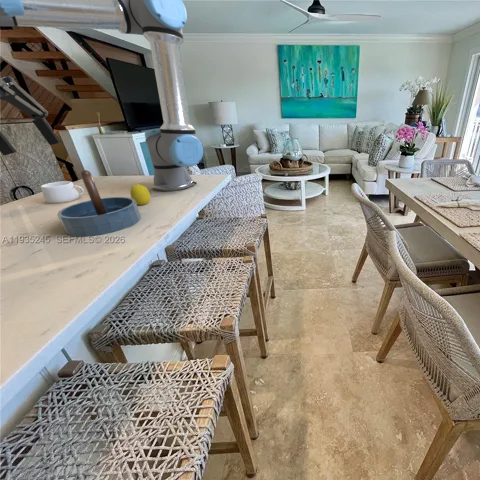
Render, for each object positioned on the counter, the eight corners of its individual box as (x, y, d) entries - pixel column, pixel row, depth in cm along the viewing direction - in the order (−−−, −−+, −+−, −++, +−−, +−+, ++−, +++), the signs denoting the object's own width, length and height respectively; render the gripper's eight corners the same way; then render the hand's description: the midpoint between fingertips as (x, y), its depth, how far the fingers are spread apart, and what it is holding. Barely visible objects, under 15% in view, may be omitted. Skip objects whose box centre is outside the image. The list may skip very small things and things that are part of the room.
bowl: (138, 210, 89) (132, 193, 86) (145, 228, 76) (138, 208, 73) (69, 223, 79) (60, 204, 76) (64, 245, 67) (53, 223, 64)
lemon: (150, 202, 96) (143, 180, 93) (155, 206, 93) (148, 183, 89) (133, 206, 93) (125, 183, 89) (137, 210, 89) (129, 186, 86)
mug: (40, 205, 94) (32, 188, 91) (54, 197, 102) (46, 182, 99) (81, 201, 97) (74, 185, 94) (91, 194, 105) (85, 179, 103)
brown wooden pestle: (117, 217, 81) (98, 166, 74) (118, 223, 77) (98, 170, 70) (92, 222, 78) (70, 169, 71) (92, 229, 74) (68, 173, 67)
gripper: (-2, 61, 69) (58, 143, 79) (-137, 47, 47) (-30, 163, 57) (25, 52, 68) (81, 137, 79) (-100, 35, 47) (1, 154, 57)
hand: (35, 148), depth 68 cm, fingers open, 13 cm apart
